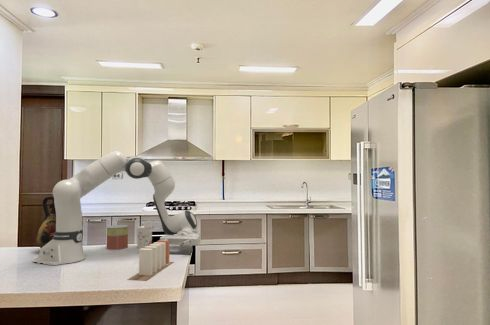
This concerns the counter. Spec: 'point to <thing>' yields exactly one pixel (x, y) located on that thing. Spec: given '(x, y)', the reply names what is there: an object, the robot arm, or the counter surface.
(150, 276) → the walnut board
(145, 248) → the ivory tile
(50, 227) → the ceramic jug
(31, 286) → the counter surface
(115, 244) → the canned food
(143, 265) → the ivory tile
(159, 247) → the ivory tile
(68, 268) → the counter surface
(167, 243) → the rust tile
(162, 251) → the ivory tile
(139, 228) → the ink cartridge box
